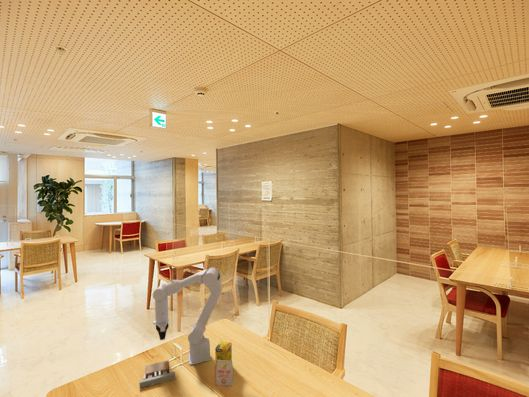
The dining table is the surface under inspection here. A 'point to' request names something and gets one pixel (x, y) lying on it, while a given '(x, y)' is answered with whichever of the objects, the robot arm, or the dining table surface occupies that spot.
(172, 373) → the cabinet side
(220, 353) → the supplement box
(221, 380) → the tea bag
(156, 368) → the brown flat block
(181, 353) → the dining table surface
